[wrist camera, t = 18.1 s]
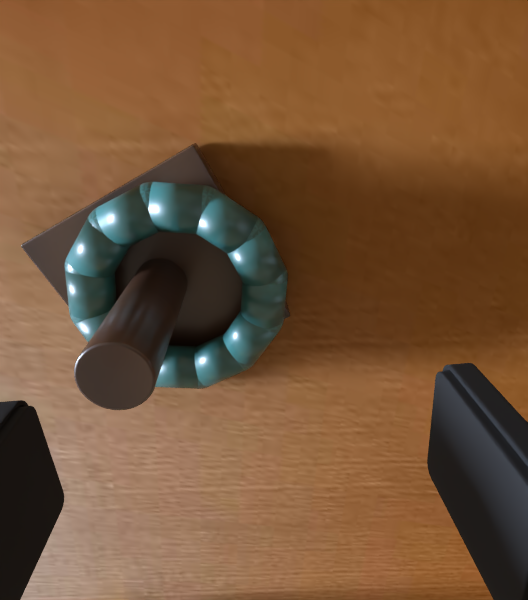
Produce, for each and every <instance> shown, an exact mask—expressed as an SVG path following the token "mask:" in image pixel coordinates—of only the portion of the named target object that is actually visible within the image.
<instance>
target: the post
mask: <svg viewBox="0 0 528 600" xmlns="http://www.w3.org/2000/svg"><path fill="white" fill-rule="evenodd" d="M146 182H166V183H180V184H195V185H206V186H210V187H213V188H215V189H217V190H218V191H220V192H221V193H223V194H224V195H225V193H224V191H223V190H222V188H221V186H220V184H219V182H218V181H217V179H216V177H215V175H214V174H213V172H212V170H211V168H210V166H209V165H208V163H207V161H206V159H205V158H204V156H203V154H202V152H201V150H200V149H199V147H198V145H197V144H196V143H195V144H193V145H191V146H189V147H188V148H186V149H184V150H182V151H181V152H179V153H177V154H176V155H174V156H172V157H170V158H169V159H167V160H165V161H164V162H162V163H160V164H159V165H157V166H155V167H153V168H152V169H150V170H148V171H147V172H145V173H143V174H141V175H140V176H138V177H136V178H135V179H133V180H131V181H129V182H128V183H126V184H124V185H123V186H121V187H119V188H117V189H116V190H114V191H112V192H111V193H109V194H107V195H105V196H104V197H102V198H100V199H99V200H97V201H95V202H93V203H92V204H90V205H88V206H87V207H85V208H83V209H81V210H80V211H78V212H76V213H75V214H73V215H71V216H70V217H68V218H66V219H64V220H63V221H61V222H59V223H58V224H56V225H54V226H52V227H51V228H49V229H47V230H46V231H44V232H42V233H40V234H39V235H37V236H35V237H34V238H32V239H30V240H28V241H27V242H25V243H23V244H22V245H21V247H22V248H23V249H24V251H25V252H26V253H27V255H28V256H29V257H30V258H31V260H32V261H33V262H34V263H35V265H36V266H37V267H38V268H39V270H40V271H41V272H42V273H43V275H44V276H45V277H46V279H47V280H48V281H49V282H50V284H51V285H52V286H53V287H54V289H55V290H56V291H57V292H58V294H59V295H60V296H61V297H62V299H63V300H64V301H65V303H66V304H67V305H68V306H69V304H68V295H67V285H66V276H65V260H66V258H67V255H68V253H69V252H70V250H71V248H72V246H73V244H74V242H75V240H76V238H77V237H78V235H79V233H80V231H81V229H82V227H83V225H84V223H85V222H86V220H87V218H88V216H89V214H90V213H91V212H92V211H93V210H94V209H95V208H97V207H98V206H100V205H102V204H104V203H106V202H108V201H110V200H112V199H114V198H116V197H118V196H119V195H121V194H123V193H125V192H127V191H129V190H131V189H133V188H135V187H137V186H139V185H141V184H143V183H146ZM115 284H116V300H117V301H116V303H115V304H114V306H113V307H112V309H111V310H110V312H109V313H108V315H107V316H106V317H105V319H104V320H103V322H102V323H101V325H100V326H99V328H98V329H97V331H96V332H95V334H94V335H93V336H92V338H91V339H90V341H89V342H88V344H87V345H86V347H85V348H84V350H83V351H82V353H81V354H80V356H79V357H78V359H77V361H76V364H75V369H74V375H75V381H76V384H77V386H78V388H79V390H80V391H81V392H82V394H83V395H84V396H85V397H86V398H87V399H88V400H90V401H91V402H93V403H94V404H96V405H98V406H101V407H103V408H107V409H112V410H125V409H130V408H134V407H136V406H138V405H140V404H142V403H143V402H144V401H146V400H147V399H148V398H149V397H150V395H151V394H152V392H153V390H154V388H155V385H156V382H157V379H158V376H159V373H160V370H161V367H162V364H163V361H164V358H165V355H166V352H167V348H168V345H176V346H198V345H201V344H203V343H205V342H207V341H209V340H212V339H214V338H216V337H218V336H220V335H223V334H224V333H225V332H226V330H227V329H228V328H229V326H230V325H231V323H232V322H233V321H234V319H235V318H236V317H237V315H238V314H239V312H240V311H241V296H242V280H241V278H240V277H239V275H238V273H237V271H236V269H235V267H234V265H233V264H232V262H231V260H230V258H229V256H228V254H227V253H226V252H224V251H223V250H221V249H219V248H218V247H216V246H215V245H213V244H211V243H210V242H208V241H207V240H205V239H203V238H202V237H200V236H199V235H197V234H188V233H172V232H158V233H156V234H154V235H152V236H150V237H148V238H146V239H144V240H142V241H140V242H138V243H136V244H134V245H132V246H130V247H129V249H128V251H127V253H126V254H125V256H124V258H123V259H122V261H121V263H120V265H119V266H118V268H117V270H116V271H115ZM289 316H290V312H289V308H288V305H287V303H286V301H285V310H284V319H285V318H287V317H289Z"/></svg>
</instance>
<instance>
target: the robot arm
mask: <svg viewBox="0 0 528 600" xmlns="http://www.w3.org/2000/svg"><path fill="white" fill-rule="evenodd" d="M427 463H428V470H429V474H430V476H431V479H432V481H433V482H434V484H435V486H436V488H437V490H438V492H439V494H440V496H441V498H442V500H443V502H444V504H445V506H446V508H447V510H448V512H449V514H450V516H451V518H452V519H453V521H454V523H455V525H456V527H457V529H458V531H459V533H460V535H461V537H462V539H463V541H464V543H465V545H466V547H467V549H468V551H469V553H470V554H471V556H472V558H473V560H474V562H475V564H476V566H477V568H478V570H479V572H480V574H481V576H482V578H483V580H484V582H485V584H486V586H487V588H488V589H489V591H490V593H491V595H492V597H493V599H494V600H528V422H527V421H526V420H524V418H523V417H522V416H521V415H520V414H519V413H518V412H517V411H516V410H515V409H514V408H513V406H512V405H511V404H510V403H509V402H508V401H507V400H506V399H505V398H504V397H503V396H502V394H501V393H500V392H499V391H498V390H497V389H496V388H495V387H494V386H493V385H492V384H491V383H490V381H489V380H488V379H487V378H486V377H485V376H484V375H483V374H482V373H481V372H480V371H479V369H478V368H477V367H476V366H475V365H473V364H472V363H464V364H452V365H446V366H445V367H444V369H443V372H438V373H437V374H436V379H435V390H434V400H433V410H432V420H431V430H430V440H429V450H428V462H427ZM63 503H64V493H63V489H62V486H61V483H60V480H59V477H58V474H57V471H56V468H55V466H54V463H53V460H52V457H51V454H50V451H49V448H48V445H47V442H46V439H45V436H44V433H43V430H42V427H41V424H40V421H39V418H38V415H37V412H36V410H35V408H34V407H32V406H28V404H27V403H26V402H25V401H22V400H21V401H9V402H0V600H20V599H21V597H22V595H23V592H24V590H25V588H26V586H27V584H28V582H29V579H30V577H31V575H32V573H33V571H34V569H35V566H36V564H37V562H38V560H39V558H40V556H41V553H42V551H43V549H44V547H45V545H46V543H47V540H48V538H49V536H50V534H51V532H52V530H53V527H54V525H55V523H56V521H57V519H58V517H59V514H60V512H61V510H62V507H63Z"/></svg>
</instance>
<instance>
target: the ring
mask: <svg viewBox="0 0 528 600" xmlns="http://www.w3.org/2000/svg"><path fill="white" fill-rule="evenodd" d="M158 232H172V233H188V234H197V235H199V236H200V237H202V238H203V239H205V240H207V241H208V242H210V243H211V244H213V245H215V246H216V247H218V248H219V249H221V250H223V251H224V252H226V253H227V254H228V256H229V258H230V260H231V262H232V264H233V265H234V267H235V269H236V271H237V273H238V275H239V277H240V278H241V280H242V296H241V311H240V312H239V314H238V315H237V317H236V318H235V319H234V321H233V322H232V323H231V325H230V326H229V328H228V329H227V330H226V332H225V333H224V334H223V335H220V336H218V337H216V338H214V339H212V340H209V341H207V342H205V343H203V344H201V345H198V346H176V345H168V348H167V352H166V355H165V358H164V361H163V364H162V367H161V370H160V373H159V376H158V379H157V382H156V385H155V387H171V388H197V389H201V388H206V387H209V386H211V385H213V384H216V383H218V382H220V381H223V380H225V379H227V378H229V377H232V376H234V375H236V374H239V373H241V372H243V371H245V370H247V369H249V368H250V367H252V366H253V365H254V364H255V362H256V361H257V360H258V358H259V357H260V356H261V354H262V353H263V352H264V351H265V349H266V348H267V347H268V345H269V344H270V343H271V341H272V340H273V339H274V337H275V336H276V335H277V334H278V332H279V331H280V329H281V327H282V325H283V320H284V310H285V301H286V291H287V281H288V273H287V269H286V267H285V265H284V263H283V261H282V259H281V257H280V255H279V253H278V251H277V248H276V246H275V244H274V242H273V240H272V238H271V236H270V234H269V232H268V230H267V228H266V226H265V224H264V223H263V221H262V220H261V219H260V218H258V217H257V216H256V215H254V214H253V213H251V212H250V211H248V210H247V209H245V208H244V207H242V206H241V205H239V204H238V203H236V202H235V201H233V200H232V199H230V198H229V197H227V196H226V195H224V194H223V193H221V192H220V191H218V190H217V189H215V188H213V187H210V186H206V185H195V184H180V183H166V182H146V183H143V184H141V185H139V186H137V187H135V188H133V189H131V190H129V191H127V192H125V193H123V194H121V195H119V196H118V197H116V198H114V199H112V200H110V201H108V202H106V203H104V204H102V205H100V206H98V207H97V208H95V209H94V210H93V211H92V212H91V213H90V214H89V216H88V218H87V220H86V222H85V223H84V225H83V227H82V229H81V231H80V233H79V235H78V237H77V238H76V240H75V242H74V244H73V246H72V248H71V250H70V252H69V253H68V255H67V258H66V260H65V276H66V285H67V295H68V304H69V313H70V317H71V319H72V321H73V323H74V324H75V325H76V327H77V328H78V329H79V331H80V332H81V333H82V335H83V336H84V338H85V339H86V340H87V342H89V341H90V339H91V338H92V336H93V335H94V334H95V332H96V331H97V329H98V328H99V326H100V325H101V323H102V322H103V320H104V319H105V317H106V316H107V315H108V313H109V312H110V310H111V309H112V307H113V306H114V304H115V303H116V301H117V300H116V284H115V271H116V270H117V268H118V266H119V265H120V263H121V261H122V259H123V258H124V256H125V254H126V253H127V251H128V249H129V247H130V246H132V245H134V244H136V243H138V242H140V241H142V240H144V239H146V238H148V237H150V236H152V235H154V234H156V233H158Z"/></svg>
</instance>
